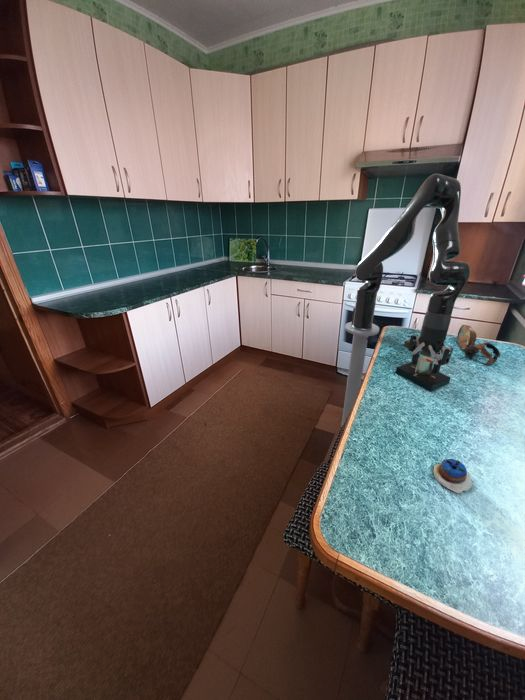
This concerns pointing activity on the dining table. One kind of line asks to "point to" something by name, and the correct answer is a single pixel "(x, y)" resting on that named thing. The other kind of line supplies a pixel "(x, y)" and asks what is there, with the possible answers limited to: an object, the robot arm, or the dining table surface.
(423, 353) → the walnut box
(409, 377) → the control box
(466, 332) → the tin
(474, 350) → the brown black curved band
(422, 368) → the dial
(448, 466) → the dessert
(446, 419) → the dining table surface
